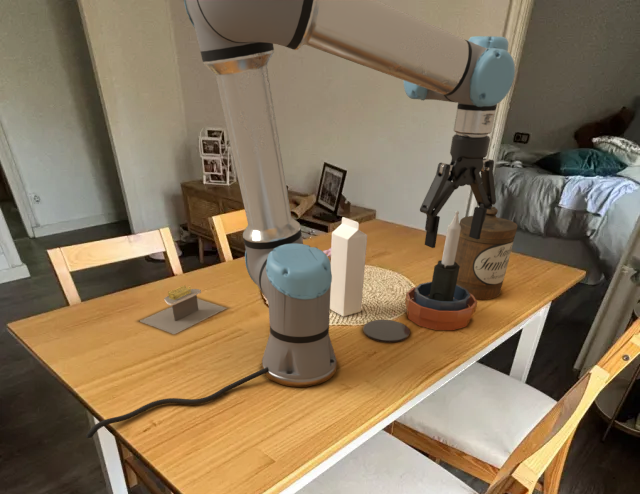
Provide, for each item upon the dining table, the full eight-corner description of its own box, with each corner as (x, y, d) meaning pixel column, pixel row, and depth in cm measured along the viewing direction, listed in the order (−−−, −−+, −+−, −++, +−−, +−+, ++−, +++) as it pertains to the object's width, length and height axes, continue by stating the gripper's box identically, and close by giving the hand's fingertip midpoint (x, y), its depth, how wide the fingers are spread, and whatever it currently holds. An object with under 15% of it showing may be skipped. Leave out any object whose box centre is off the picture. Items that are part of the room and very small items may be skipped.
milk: (343, 317, 119) (348, 224, 106) (328, 308, 123) (331, 218, 110) (361, 311, 122) (369, 220, 109) (346, 303, 126) (351, 214, 113)
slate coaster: (380, 346, 107) (381, 344, 107) (353, 327, 115) (354, 325, 114) (419, 336, 112) (419, 334, 112) (390, 318, 119) (391, 316, 119)
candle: (451, 315, 122) (472, 210, 106) (443, 322, 118) (464, 215, 103) (432, 310, 124) (450, 206, 109) (424, 317, 120) (442, 211, 105)
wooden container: (480, 304, 127) (501, 217, 114) (435, 287, 136) (450, 204, 123) (510, 291, 135) (533, 208, 122) (466, 276, 144) (483, 197, 131)
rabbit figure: (338, 255, 161) (315, 259, 149) (340, 236, 158) (317, 239, 146) (354, 258, 159) (332, 263, 147) (357, 239, 156) (335, 243, 144)
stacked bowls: (434, 336, 112) (439, 310, 108) (391, 310, 123) (394, 285, 119) (486, 322, 119) (492, 297, 115) (440, 298, 130) (445, 275, 126)
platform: (138, 321, 115) (133, 294, 111) (193, 297, 127) (189, 272, 123) (174, 334, 110) (169, 307, 106) (227, 308, 122) (224, 283, 118)
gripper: (437, 140, 89) (420, 254, 102) (528, 133, 99) (503, 238, 112) (411, 135, 94) (399, 245, 107) (501, 129, 105) (480, 230, 118)
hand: (452, 242), depth 110 cm, fingers open, 13 cm apart
